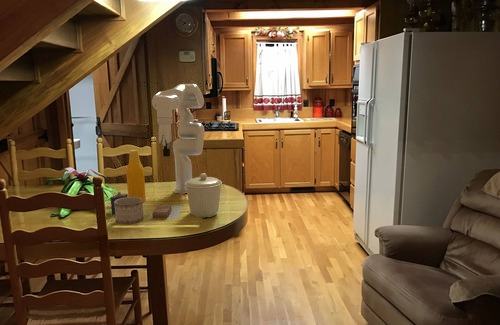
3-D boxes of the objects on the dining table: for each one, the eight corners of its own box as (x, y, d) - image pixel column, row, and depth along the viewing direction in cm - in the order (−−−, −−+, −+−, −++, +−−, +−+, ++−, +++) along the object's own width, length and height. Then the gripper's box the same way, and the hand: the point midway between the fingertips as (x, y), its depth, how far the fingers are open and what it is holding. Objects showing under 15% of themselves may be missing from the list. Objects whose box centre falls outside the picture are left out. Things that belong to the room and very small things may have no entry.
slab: (157, 205, 201) (152, 212, 191) (171, 205, 201) (167, 212, 191) (157, 211, 201) (152, 218, 192) (171, 211, 201) (167, 218, 192)
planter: (144, 224, 186) (142, 203, 184) (115, 227, 183) (113, 205, 181) (143, 216, 198) (141, 195, 196) (116, 218, 195) (114, 198, 193)
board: (157, 207, 211) (157, 205, 211) (183, 207, 211) (183, 205, 211) (147, 220, 192) (147, 218, 191) (176, 220, 191) (176, 218, 191)
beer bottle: (128, 201, 223) (124, 149, 217) (145, 199, 226) (142, 148, 220) (128, 206, 214) (124, 152, 209) (146, 204, 217) (143, 151, 211)
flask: (127, 209, 209) (125, 189, 207) (130, 210, 207) (128, 190, 205) (110, 214, 202) (109, 193, 200) (113, 215, 200) (112, 194, 198)
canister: (179, 218, 194) (177, 176, 190) (197, 207, 211) (195, 168, 207) (212, 222, 188) (211, 179, 184) (228, 211, 204) (227, 170, 200)
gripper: (160, 119, 211) (162, 153, 215) (154, 122, 197) (156, 159, 200) (175, 119, 211) (176, 153, 215) (169, 122, 197) (171, 158, 200)
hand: (166, 156), depth 208 cm, fingers closed
